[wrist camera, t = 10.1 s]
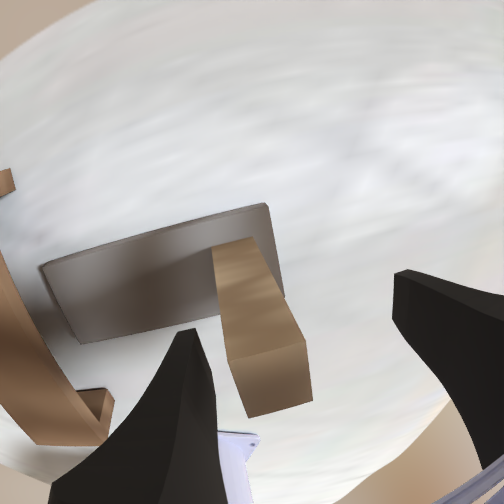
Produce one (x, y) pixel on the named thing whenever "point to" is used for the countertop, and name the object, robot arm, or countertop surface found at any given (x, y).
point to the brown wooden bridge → (42, 376)
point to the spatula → (196, 298)
